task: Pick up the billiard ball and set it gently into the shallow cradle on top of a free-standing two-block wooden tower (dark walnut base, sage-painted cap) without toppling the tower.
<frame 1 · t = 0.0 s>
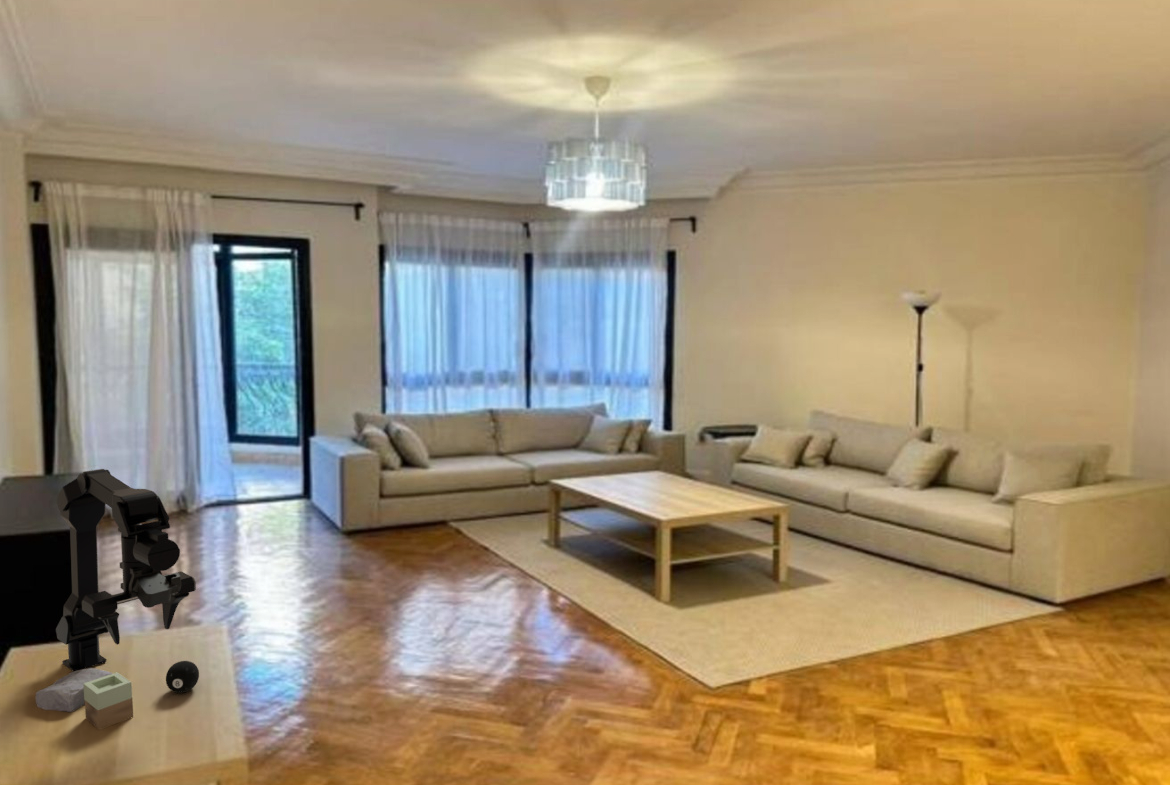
hand: (142, 636, 159), 15 cm above the table, fingers open, 9 cm apart
billiard ball: (183, 691, 168), on the table
stone block: (74, 697, 165), on the table
tower cap: (108, 698, 156), point 4 cm above the table, touching tower base
tower base: (109, 718, 157), on the table, touching tower cap
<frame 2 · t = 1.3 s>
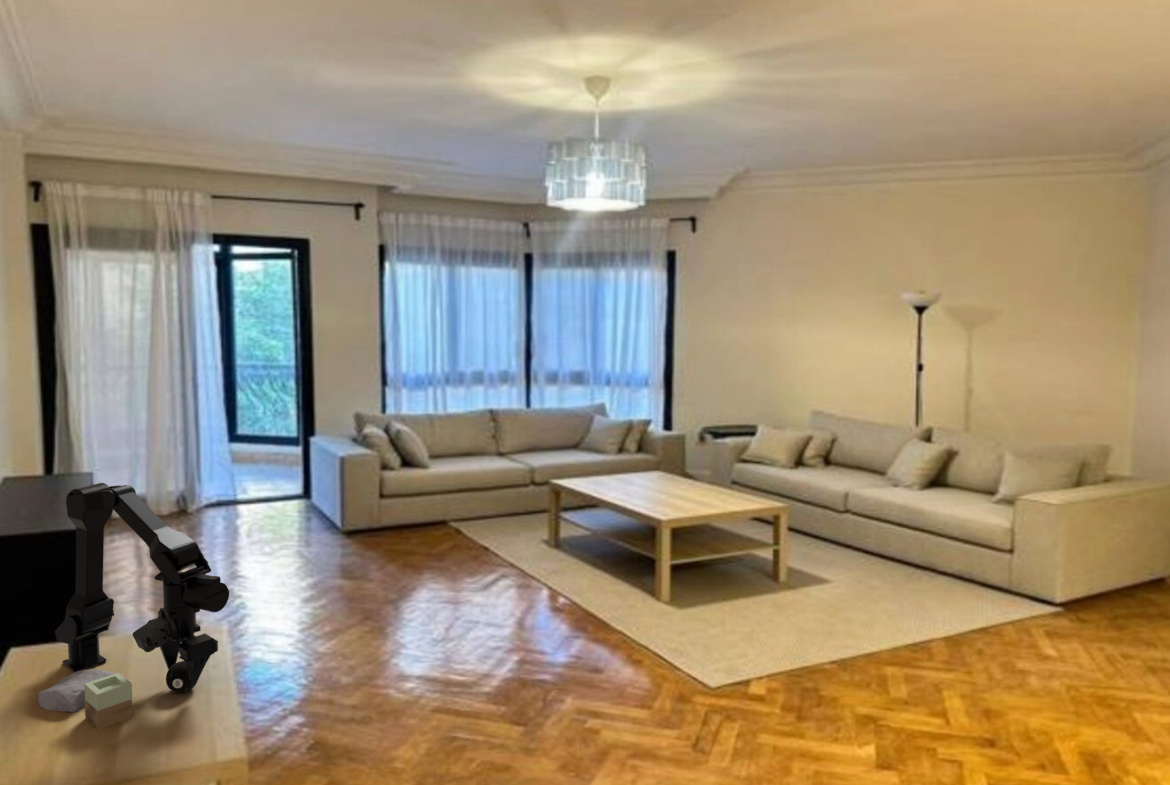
hand: (182, 676, 167), 3 cm above the table, fingers open, 9 cm apart
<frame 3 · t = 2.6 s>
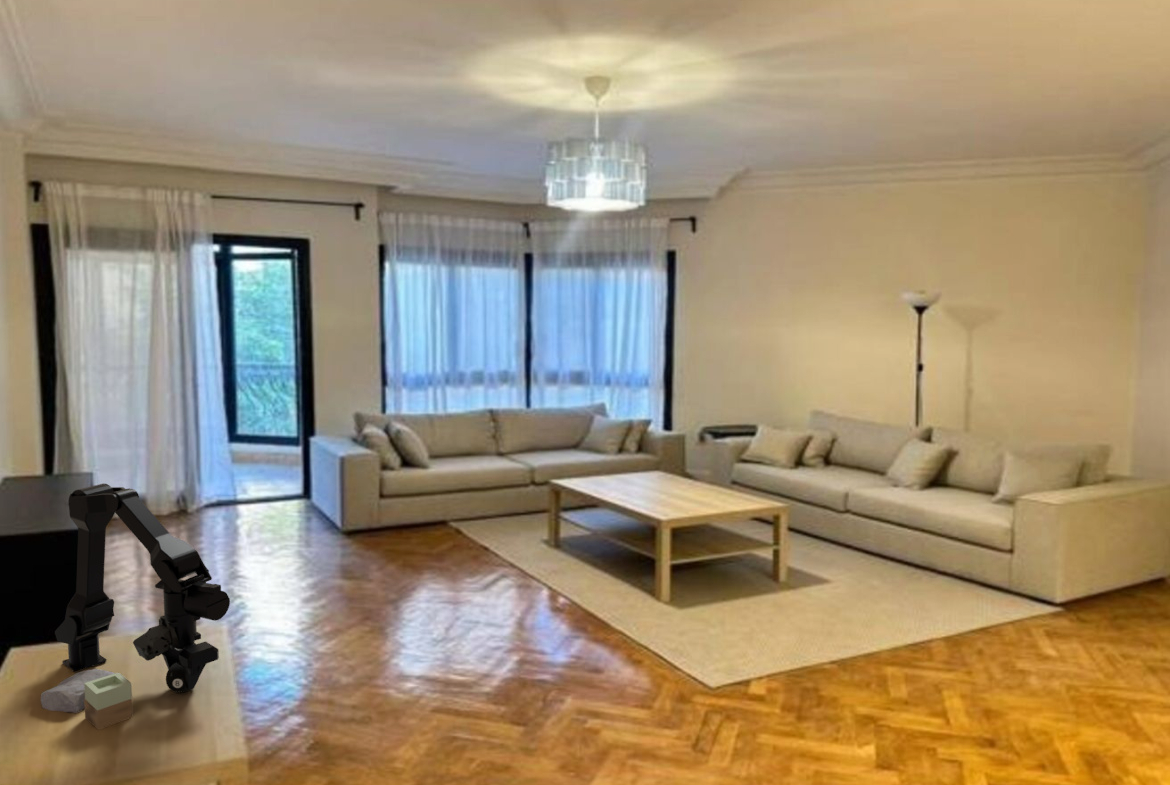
hand: (182, 684, 167), 1 cm above the table, fingers closed on billiard ball, 6 cm apart
billiard ball: (183, 691, 168), on the table, touching gripper
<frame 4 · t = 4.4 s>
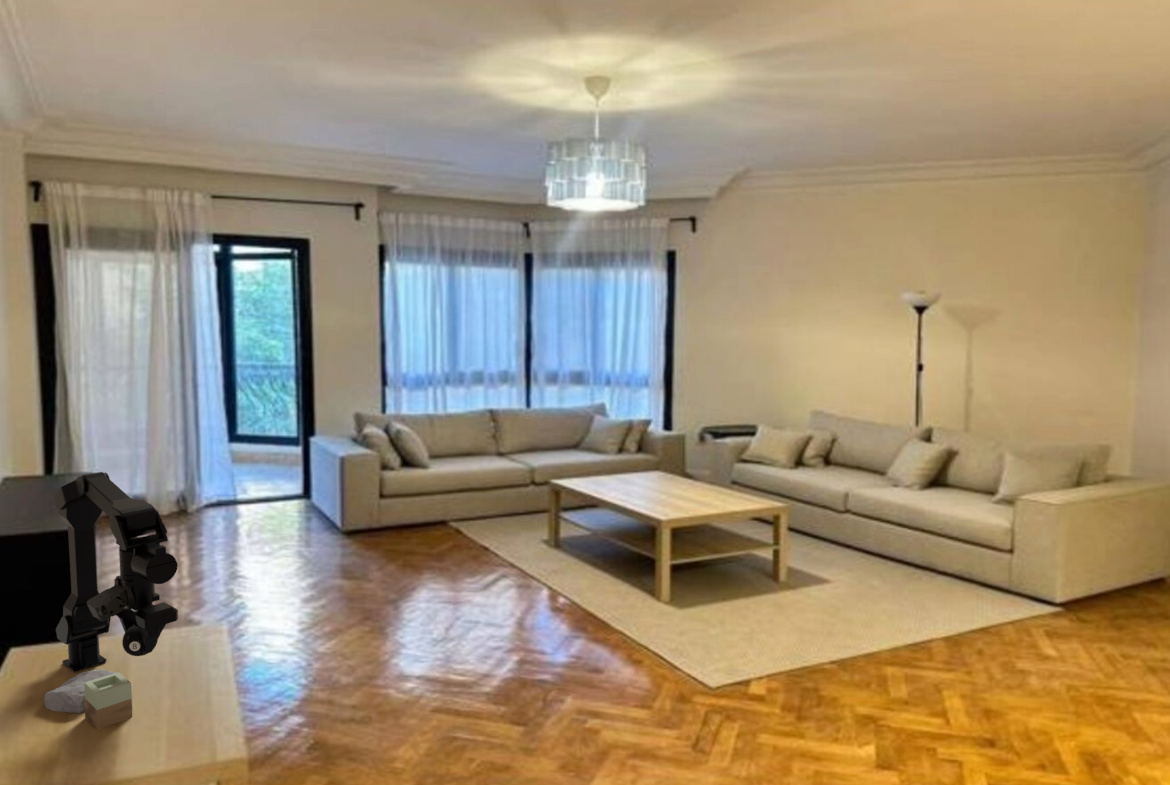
hand: (140, 647, 160), 12 cm above the table, fingers closed on billiard ball, 6 cm apart
billiard ball: (140, 655, 160), point 10 cm above the table, touching gripper
tower cap: (108, 698, 156), point 4 cm above the table
tower base: (108, 718, 157), on the table
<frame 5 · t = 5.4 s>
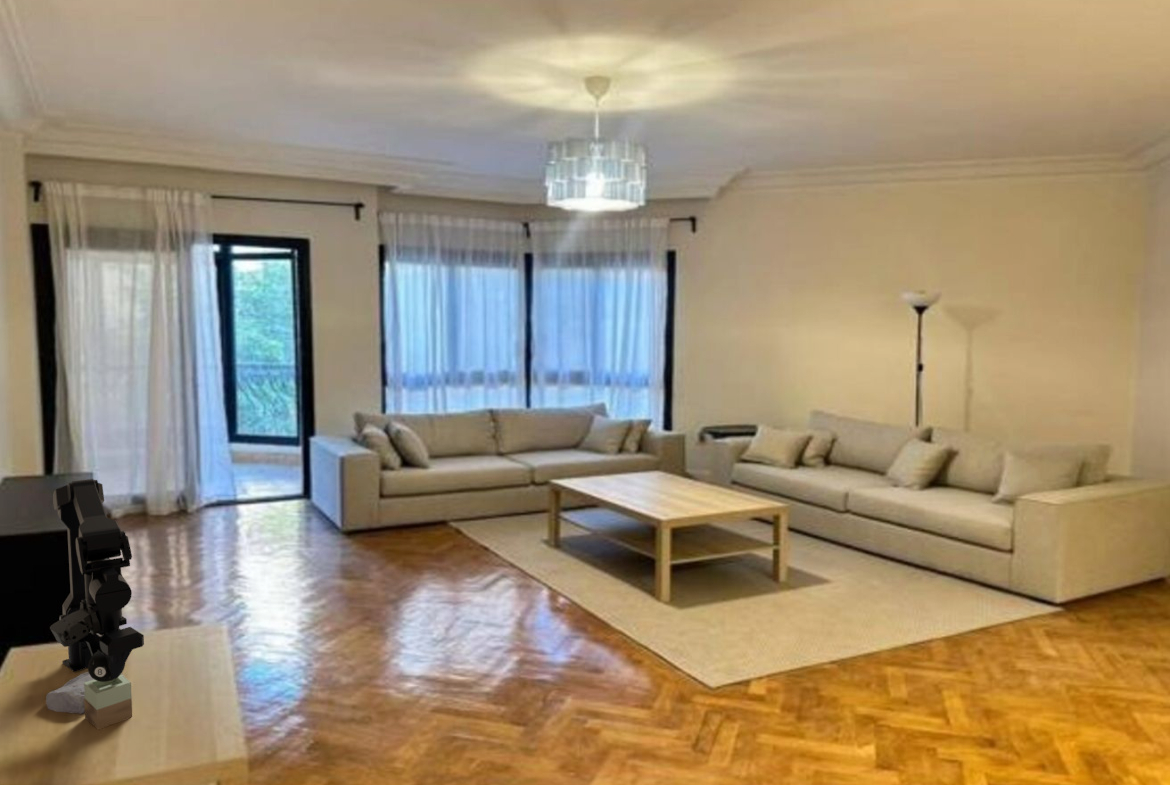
hand: (107, 672, 156), 9 cm above the table, fingers closed on billiard ball, 6 cm apart
billiard ball: (107, 680, 156), point 7 cm above the table, touching gripper
tower cap: (108, 698, 156), point 4 cm above the table, touching tower base
tower base: (108, 718, 157), on the table, touching tower cap
when the fingers open (9 cm above the table, at t = 6.2 s): billiard ball stays where it is, resting on tower cap.
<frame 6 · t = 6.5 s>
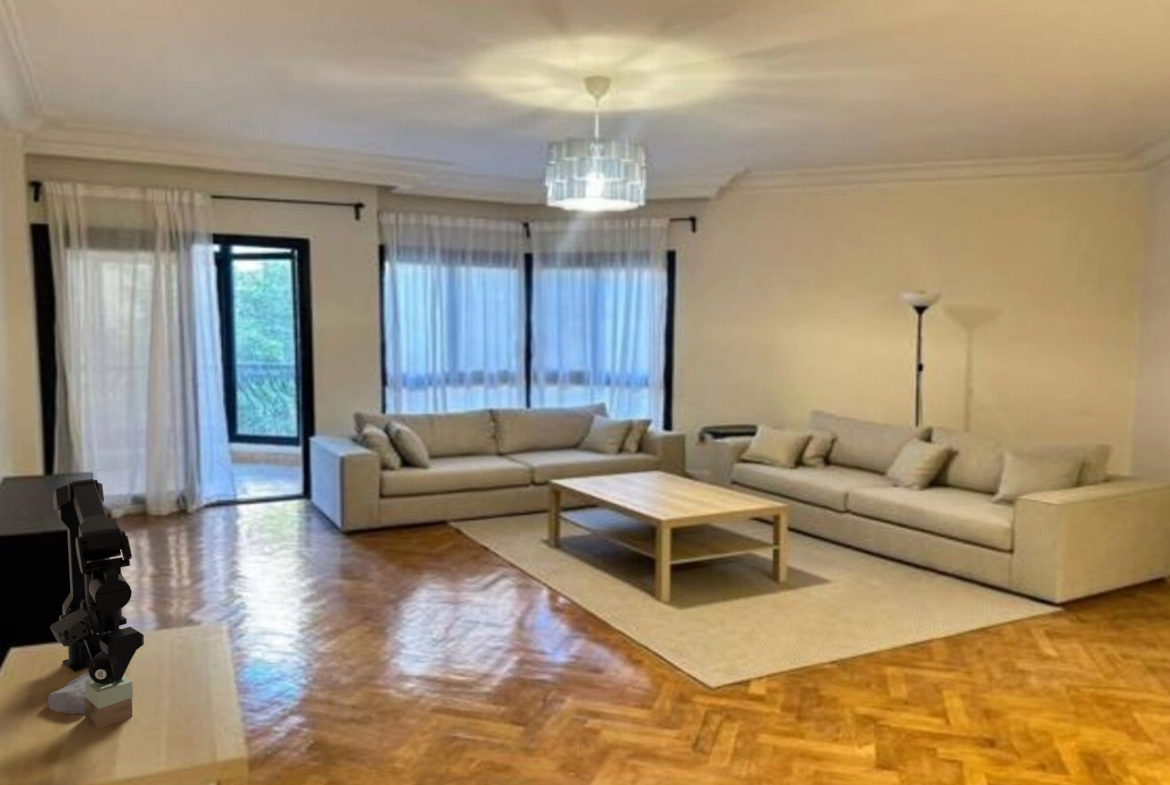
hand: (107, 672, 156), 9 cm above the table, fingers open, 9 cm apart
billiard ball: (108, 683, 156), point 7 cm above the table, touching tower cap
tower cap: (109, 697, 157), point 4 cm above the table, touching billiard ball, tower base
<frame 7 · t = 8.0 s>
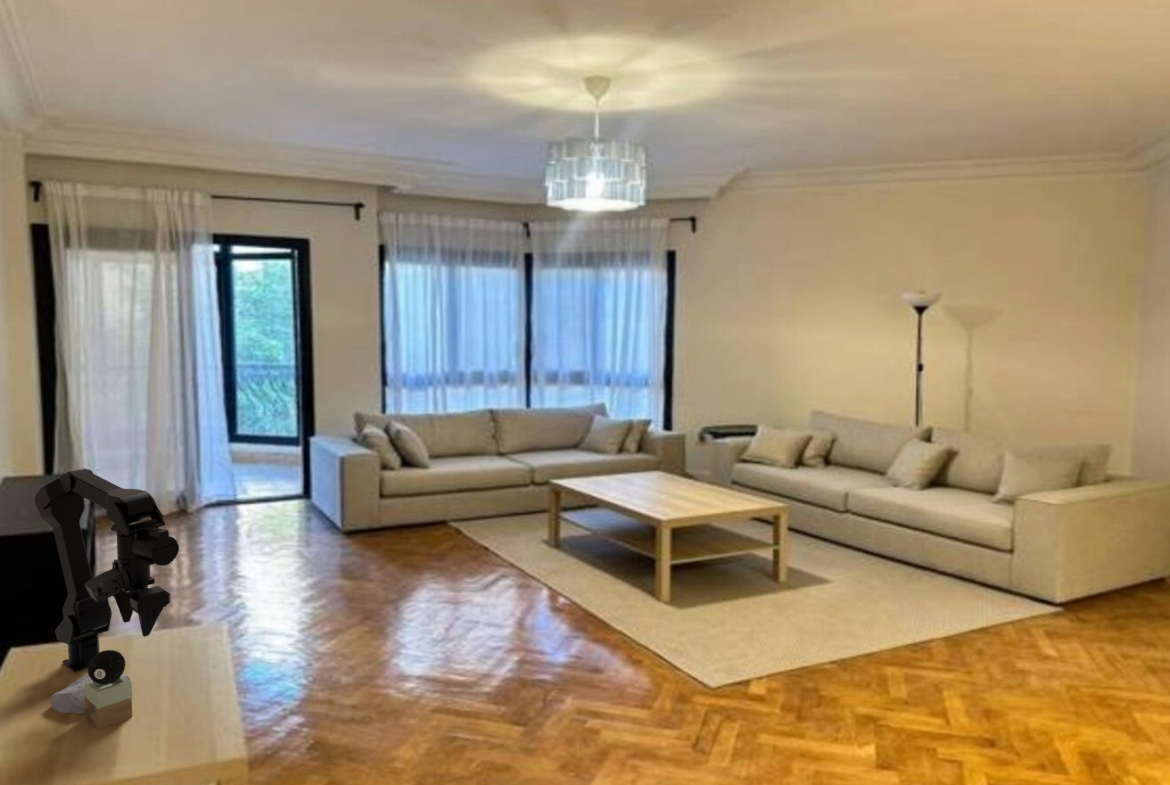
hand: (136, 628, 167), 12 cm above the table, fingers open, 9 cm apart
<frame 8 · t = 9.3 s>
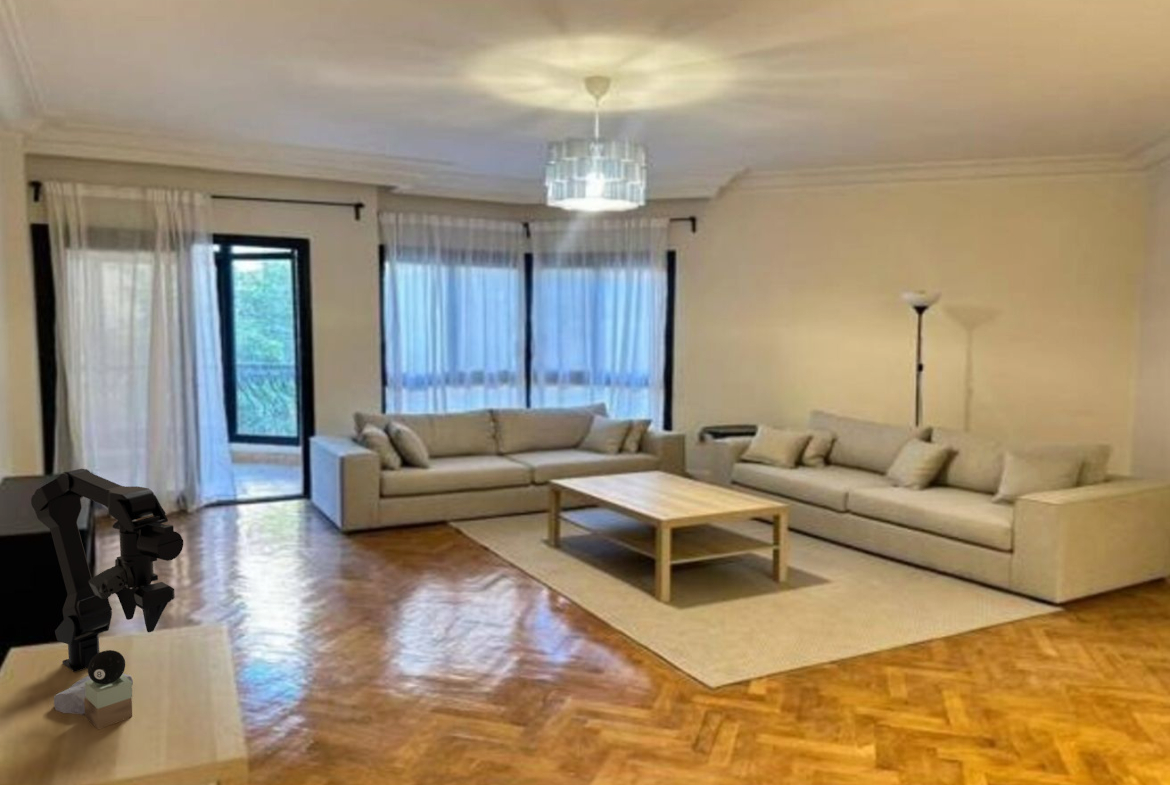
hand: (139, 625, 168), 13 cm above the table, fingers open, 9 cm apart
at the end: billiard ball 0.2 cm from the tower cap (horizontally); billiard ball point 6.9 cm above the table; tower cap tilted 0° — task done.
